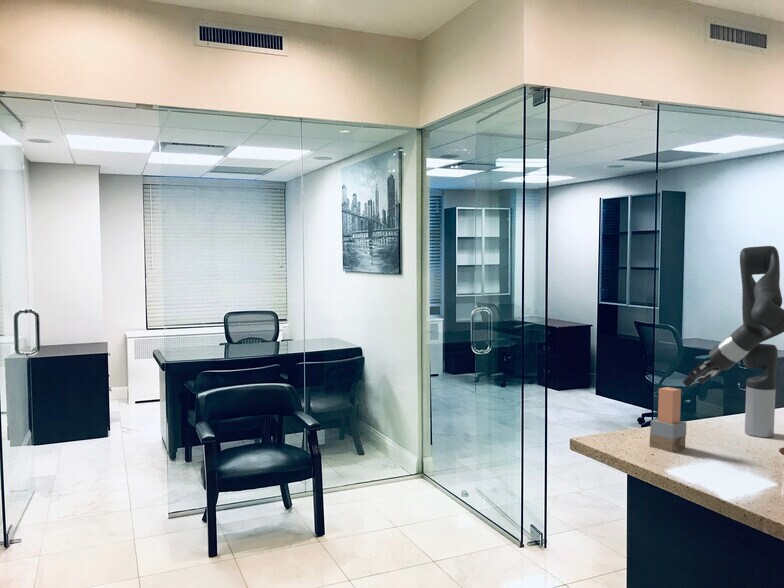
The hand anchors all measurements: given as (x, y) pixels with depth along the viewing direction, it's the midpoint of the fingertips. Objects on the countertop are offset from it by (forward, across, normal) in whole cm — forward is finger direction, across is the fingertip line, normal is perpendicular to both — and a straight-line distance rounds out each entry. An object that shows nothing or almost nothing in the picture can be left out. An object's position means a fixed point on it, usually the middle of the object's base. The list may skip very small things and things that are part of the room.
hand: (692, 382), depth 202 cm
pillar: (+16, -1, +5) cm, 16 cm away
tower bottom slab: (+22, -1, +11) cm, 25 cm away
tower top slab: (+19, -1, +8) cm, 20 cm away
